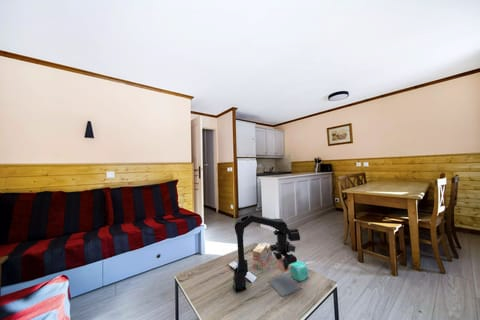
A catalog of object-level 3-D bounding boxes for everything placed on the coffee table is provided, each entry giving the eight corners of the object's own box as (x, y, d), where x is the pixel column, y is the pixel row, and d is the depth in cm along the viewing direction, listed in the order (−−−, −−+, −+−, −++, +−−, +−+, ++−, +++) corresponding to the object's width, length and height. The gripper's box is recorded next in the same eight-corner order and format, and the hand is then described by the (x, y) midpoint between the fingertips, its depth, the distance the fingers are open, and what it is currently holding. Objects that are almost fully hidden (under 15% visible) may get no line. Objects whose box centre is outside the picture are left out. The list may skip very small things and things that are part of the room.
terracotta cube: (282, 272, 101) (282, 264, 101) (277, 268, 106) (277, 259, 106) (289, 270, 103) (289, 261, 103) (284, 266, 108) (283, 257, 108)
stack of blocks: (264, 253, 142) (263, 238, 142) (271, 255, 138) (271, 239, 139) (253, 268, 123) (252, 250, 123) (261, 270, 120) (260, 252, 120)
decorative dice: (308, 278, 109) (307, 265, 109) (299, 282, 106) (298, 269, 106) (299, 271, 116) (298, 259, 117) (289, 275, 113) (289, 262, 113)
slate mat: (281, 297, 95) (281, 295, 95) (268, 281, 108) (268, 280, 108) (301, 288, 100) (301, 287, 100) (286, 274, 113) (286, 274, 113)
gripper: (303, 244, 99) (305, 272, 99) (283, 233, 117) (284, 256, 116) (287, 249, 95) (289, 278, 95) (269, 236, 112) (270, 261, 112)
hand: (283, 267), depth 104 cm, fingers closed on terracotta cube, 5 cm apart
